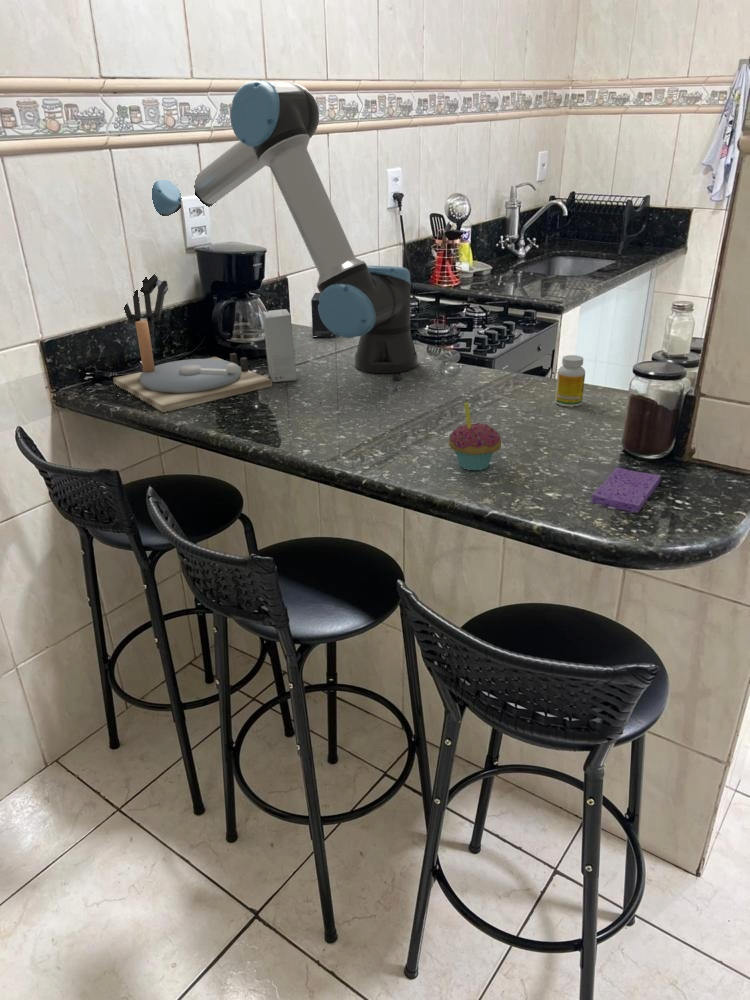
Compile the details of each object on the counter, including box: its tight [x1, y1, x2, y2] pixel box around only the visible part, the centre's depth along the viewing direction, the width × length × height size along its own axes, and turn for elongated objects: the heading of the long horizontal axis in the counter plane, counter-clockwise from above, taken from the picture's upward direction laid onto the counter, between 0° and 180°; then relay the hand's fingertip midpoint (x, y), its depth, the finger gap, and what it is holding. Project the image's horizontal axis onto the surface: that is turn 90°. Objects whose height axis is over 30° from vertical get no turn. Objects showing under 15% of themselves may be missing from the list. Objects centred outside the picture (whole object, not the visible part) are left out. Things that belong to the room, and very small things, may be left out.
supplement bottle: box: [554, 354, 586, 408], centre depth 149 cm, size 5×5×10 cm
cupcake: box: [448, 398, 502, 471], centre depth 121 cm, size 9×8×12 cm
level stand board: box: [112, 352, 273, 413], centre depth 166 cm, size 26×26×4 cm
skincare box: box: [262, 308, 298, 383], centre depth 168 cm, size 8×6×15 cm
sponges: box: [590, 467, 662, 513], centre depth 113 cm, size 7×13×2 cm, turn 147°
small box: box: [310, 292, 336, 338], centre depth 206 cm, size 11×6×10 cm, turn 179°
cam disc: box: [134, 321, 241, 393], centre depth 163 cm, size 22×22×12 cm
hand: (146, 345), depth 172 cm, fingers closed
